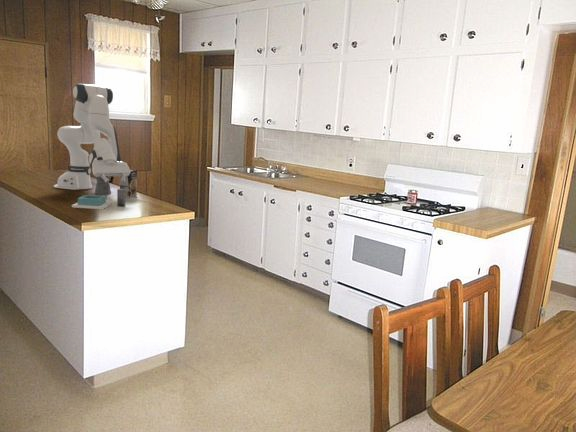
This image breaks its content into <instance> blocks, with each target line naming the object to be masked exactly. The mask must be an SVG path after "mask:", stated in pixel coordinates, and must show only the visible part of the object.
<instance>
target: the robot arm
mask: <svg viewBox="0 0 576 432" xmlns="http://www.w3.org/2000/svg"><path fill="white" fill-rule="evenodd" d="M72 96H73V99H75V105H74V110H73V119H74V120H75V121H77V122H78V123H79V125H64V126H61V127H59V129H57V133H56V134H57V139H58V140H59V141H60V142H61V143H63V145H64V146H65V147H66V149H67V150H68V153H69V158H70V159H69V160H70V161H69V163H70V164H69V165H68V166H66V169H67V171H66V172H64V173H62V174H61V175H60V176H59V177H58V179H57V184H54V185H53V188H54V189H64V190H74V191H75V190H88V189H93V185H92V180H91V172H92V174H93V176H94V177H95V178H96V177H101V178H102V179H104V180H105V182H108V181H110V179H109V180H108V178H106V177H105V176H110V177H111V176H114V177H120V176H122V177H123V178H122V179H121V180H122V182H125V176H129V174H130V172H131V171H130V170H131V169H130V167H129V165H128V163H127V162H125V161H123V160H122V156H121V153H120V147H119V142H118V137H117V136H118V135H117V131H116V127H115V126H114V125H113V124H112V123H111V120H110V109H109V105H111V103H112V102H113V99H114V93H113V91H112V88H110V87H107V86H102V85H98V84H89V83H88V84H87V83H76V84H75V85H74V86H73V89H72ZM101 134H103V135H104V136H105V137H106V138H105V137H101ZM82 144H83V145H92V144H93V150H92V151H91V152H90V153H89V152H88V151H86V150H85V149H83V148H82V146H81V145H82ZM91 170H92V171H91Z"/></svg>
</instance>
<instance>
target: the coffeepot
mask: <svg viewBox="0 0 576 432" xmlns="http://www.w3.org/2000/svg"><path fill="white" fill-rule="evenodd" d="M105 177H106V178H108V180H109V181H108V182H105V180H104V179H102V178H101V177H96V176H95V179H96V183H95V190H94V195H99V196H106V195H107V196H108V195H111V193H112V191H111V186H110V183H113V180H114V177H115V176H105Z"/></svg>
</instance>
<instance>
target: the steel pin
mask: <svg viewBox="0 0 576 432" xmlns="http://www.w3.org/2000/svg"><path fill="white" fill-rule="evenodd" d="M116 192H117V194H116V195H117V196H116V199H117V201H116V202H117V204H116V205H117V207H118V208H120V207H122V208H124V207H126V198H125V190H124V189H120V188H118V189H117V191H116Z"/></svg>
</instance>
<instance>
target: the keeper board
mask: <svg viewBox="0 0 576 432" xmlns="http://www.w3.org/2000/svg"><path fill="white" fill-rule="evenodd" d="M111 205H113V203H112V201H107V196H106V195H98V194H94V195H93V194H84V195H82V196H80V197H77V202H75V203H74V204H71V208H74V209H75V208H76V209H77V208H78V209H92V210H105V209H106V208H108V207H110V206H111ZM104 208H105V209H104Z"/></svg>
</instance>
